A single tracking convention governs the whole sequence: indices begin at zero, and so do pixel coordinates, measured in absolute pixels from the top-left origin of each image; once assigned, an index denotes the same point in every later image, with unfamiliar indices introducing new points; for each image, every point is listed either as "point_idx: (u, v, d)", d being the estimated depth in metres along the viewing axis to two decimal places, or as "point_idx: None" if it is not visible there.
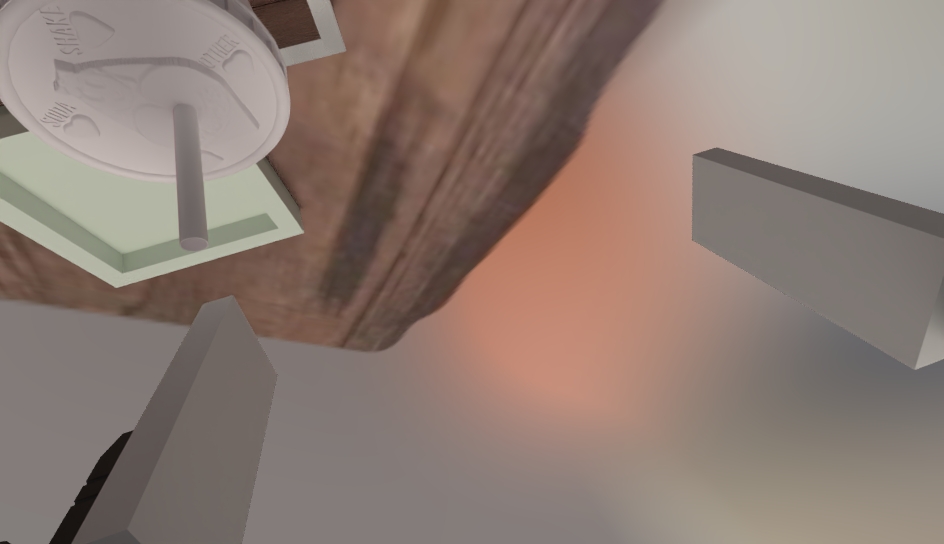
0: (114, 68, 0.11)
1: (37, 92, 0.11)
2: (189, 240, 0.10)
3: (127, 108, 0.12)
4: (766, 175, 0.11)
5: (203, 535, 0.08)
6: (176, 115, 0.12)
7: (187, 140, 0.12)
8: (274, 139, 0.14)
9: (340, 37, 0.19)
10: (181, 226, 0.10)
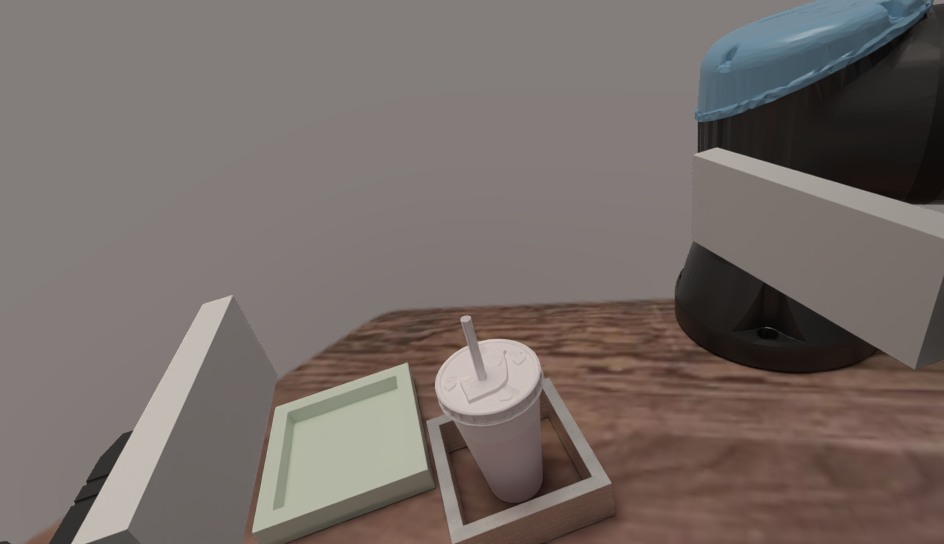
0: (504, 362, 0.28)
1: (492, 346, 0.29)
2: (467, 319, 0.25)
3: (486, 362, 0.28)
4: (766, 175, 0.11)
5: (203, 535, 0.08)
6: (484, 370, 0.27)
7: (481, 360, 0.26)
8: (458, 410, 0.26)
9: (463, 539, 0.26)
10: (471, 322, 0.25)
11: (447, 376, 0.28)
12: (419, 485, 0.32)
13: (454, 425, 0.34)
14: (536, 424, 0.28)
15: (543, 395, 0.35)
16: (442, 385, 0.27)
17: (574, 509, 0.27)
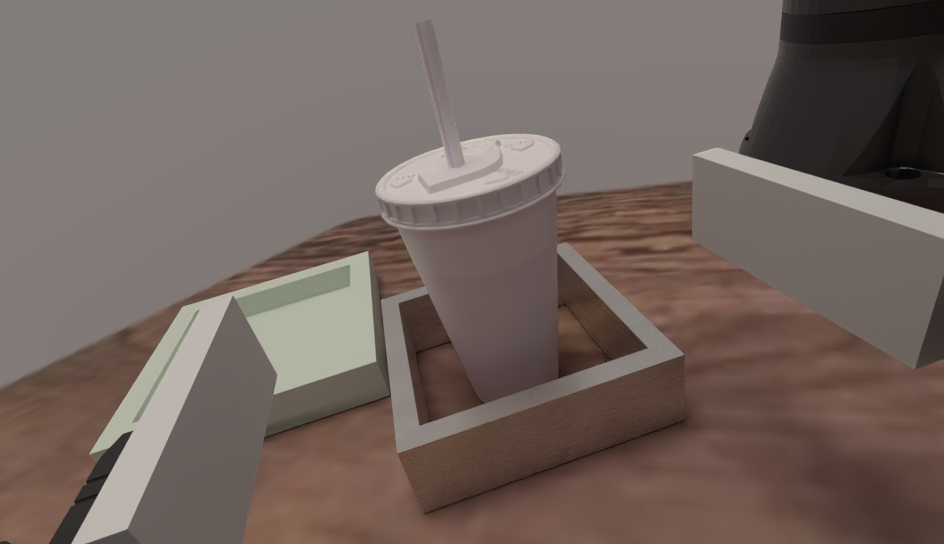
0: (496, 149, 0.16)
1: None
2: (425, 25, 0.13)
3: (465, 152, 0.16)
4: (766, 175, 0.11)
5: (203, 535, 0.08)
6: (461, 151, 0.15)
7: (454, 125, 0.15)
8: (409, 202, 0.14)
9: (417, 444, 0.14)
10: (433, 34, 0.14)
11: (398, 177, 0.16)
12: (364, 389, 0.21)
13: (422, 306, 0.22)
14: (551, 257, 0.16)
15: (558, 266, 0.23)
16: (388, 184, 0.16)
17: (617, 402, 0.15)
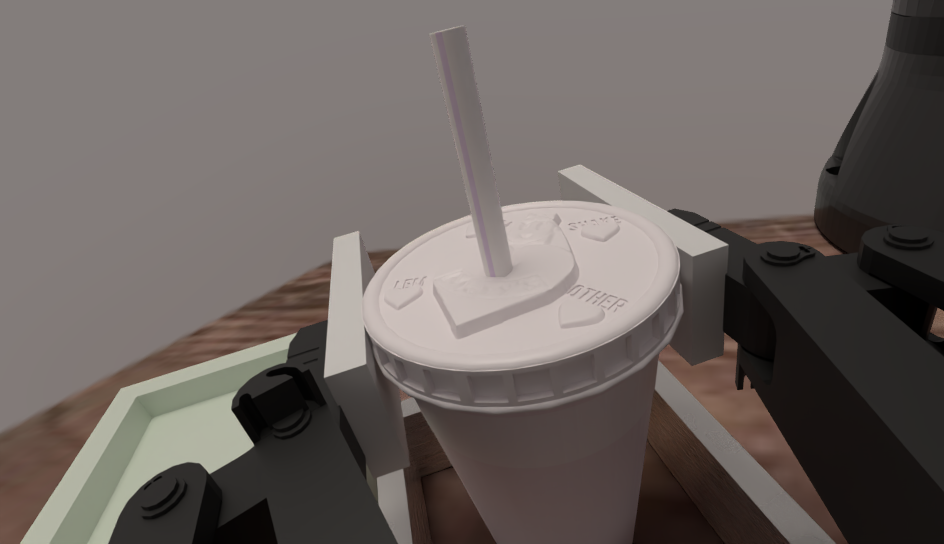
0: (559, 236, 0.10)
1: (522, 216, 0.12)
2: (452, 36, 0.07)
3: (508, 239, 0.10)
4: (600, 192, 0.12)
5: (389, 394, 0.10)
6: None
7: (499, 208, 0.08)
8: (419, 357, 0.08)
9: None
10: (466, 52, 0.07)
11: (400, 278, 0.10)
12: None
13: None
14: (649, 413, 0.10)
15: None
16: (382, 296, 0.10)
17: None
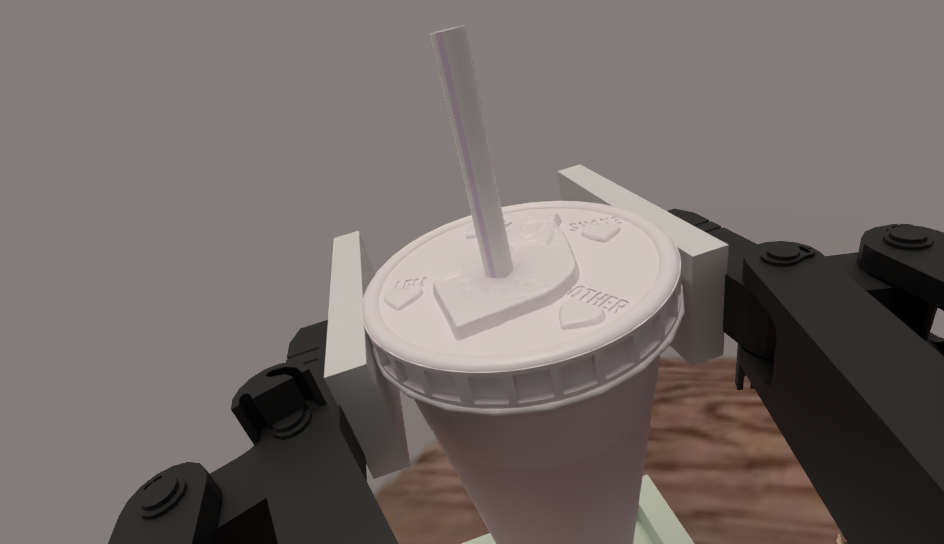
0: (560, 237, 0.10)
1: (522, 216, 0.12)
2: (452, 36, 0.07)
3: (508, 240, 0.10)
4: (600, 192, 0.12)
5: (389, 394, 0.10)
6: None
7: (499, 209, 0.08)
8: (420, 358, 0.08)
9: None
10: (466, 53, 0.07)
11: (400, 278, 0.10)
12: None
13: None
14: (650, 414, 0.10)
15: None
16: (382, 297, 0.09)
17: None
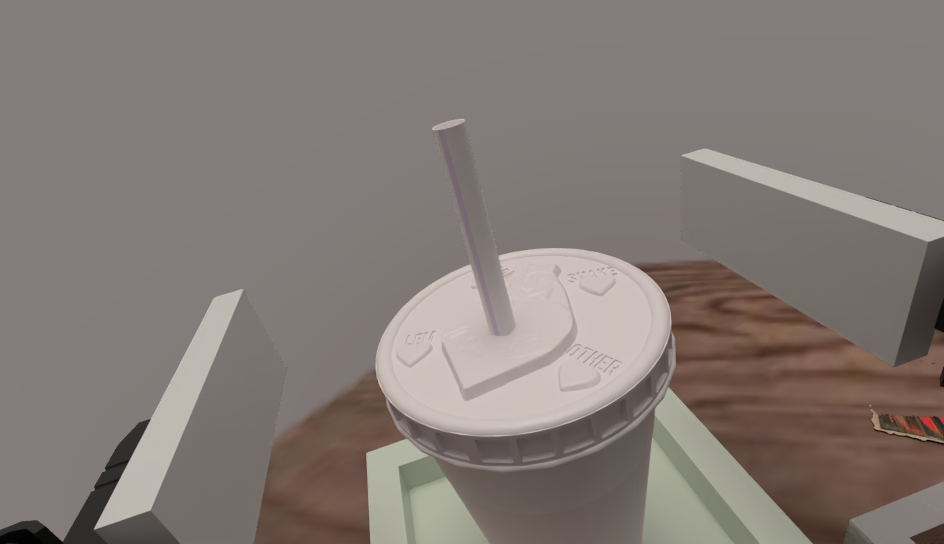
0: (559, 290, 0.10)
1: (524, 264, 0.12)
2: (453, 129, 0.08)
3: (511, 293, 0.11)
4: (751, 176, 0.11)
5: (220, 520, 0.08)
6: None
7: (501, 275, 0.09)
8: (431, 419, 0.08)
9: None
10: (466, 142, 0.08)
11: (411, 332, 0.11)
12: None
13: (940, 535, 0.12)
14: (648, 455, 0.10)
15: None
16: (395, 353, 0.10)
17: None
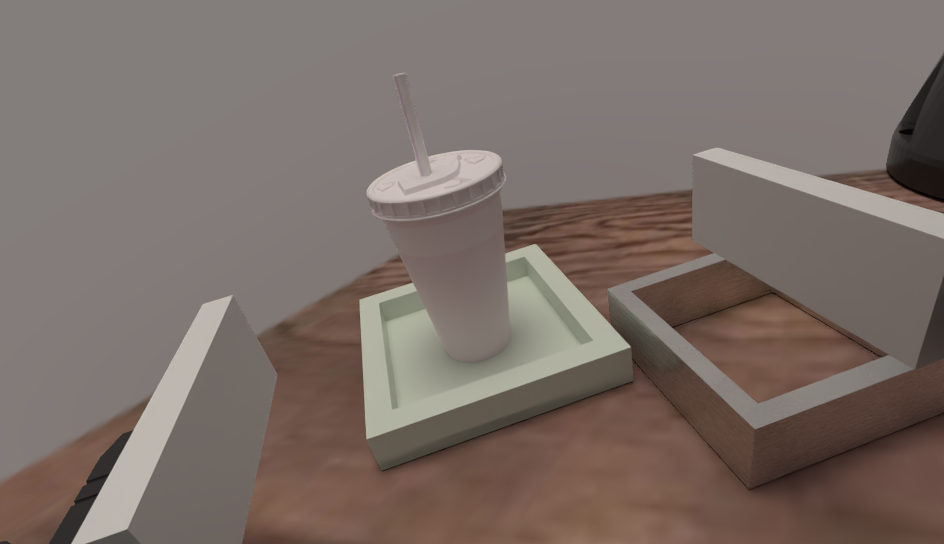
0: (456, 162, 0.22)
1: None
2: (401, 76, 0.19)
3: (434, 164, 0.22)
4: (766, 175, 0.11)
5: (203, 535, 0.08)
6: (429, 164, 0.21)
7: (423, 145, 0.20)
8: (390, 201, 0.19)
9: (772, 421, 0.15)
10: (407, 82, 0.19)
11: (384, 182, 0.22)
12: (613, 374, 0.21)
13: (651, 294, 0.23)
14: (497, 242, 0.22)
15: None
16: (376, 188, 0.21)
17: (939, 379, 0.16)
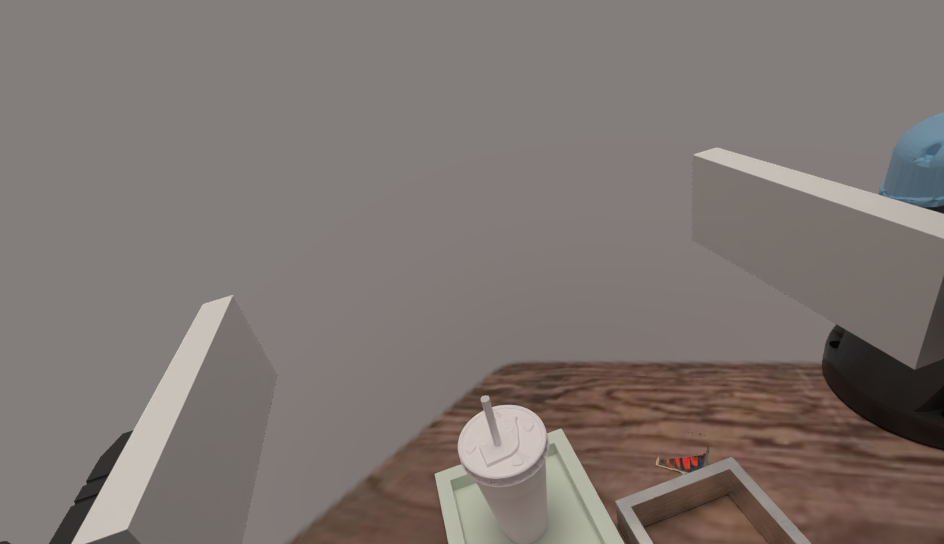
0: (516, 428, 0.33)
1: (505, 412, 0.35)
2: (486, 399, 0.30)
3: (500, 428, 0.33)
4: (766, 175, 0.11)
5: (203, 535, 0.08)
6: (499, 437, 0.32)
7: (497, 430, 0.32)
8: (478, 472, 0.31)
9: None
10: None
11: (468, 440, 0.33)
12: None
13: (644, 506, 0.34)
14: (542, 481, 0.33)
15: (728, 475, 0.35)
16: (464, 448, 0.33)
17: None
